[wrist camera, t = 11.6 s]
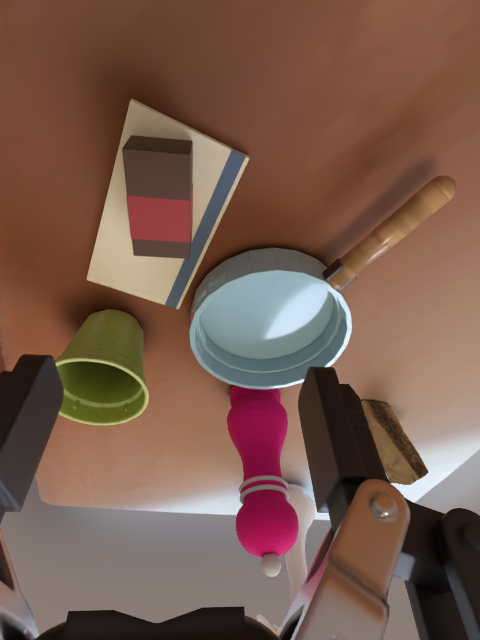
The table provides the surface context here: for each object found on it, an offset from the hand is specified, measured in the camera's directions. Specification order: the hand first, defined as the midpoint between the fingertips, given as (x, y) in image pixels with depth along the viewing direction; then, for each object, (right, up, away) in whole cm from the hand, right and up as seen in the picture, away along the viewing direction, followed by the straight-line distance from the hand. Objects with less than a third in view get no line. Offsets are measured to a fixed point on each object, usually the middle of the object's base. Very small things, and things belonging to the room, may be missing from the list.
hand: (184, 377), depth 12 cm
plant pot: (-12, +1, +27) cm, 29 cm away
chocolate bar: (-4, +12, +17) cm, 21 cm away
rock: (+21, -13, +41) cm, 48 cm away
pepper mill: (+4, -7, +35) cm, 36 cm away
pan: (+5, +3, +26) cm, 27 cm away
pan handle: (+13, +9, +18) cm, 24 cm away
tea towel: (-5, +10, +19) cm, 22 cm away
